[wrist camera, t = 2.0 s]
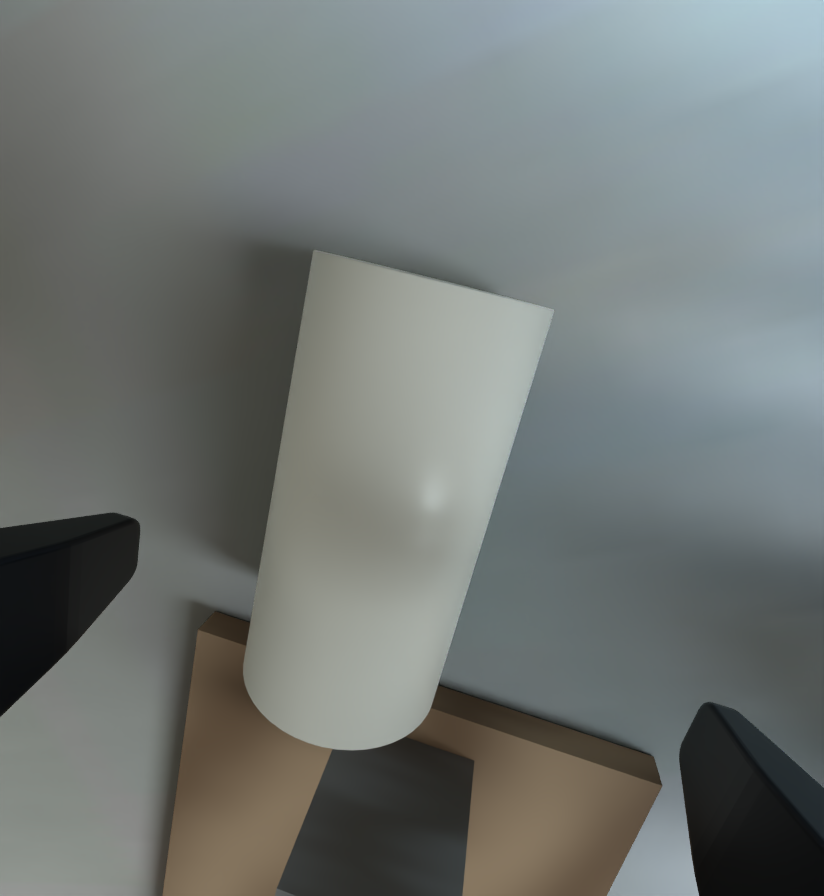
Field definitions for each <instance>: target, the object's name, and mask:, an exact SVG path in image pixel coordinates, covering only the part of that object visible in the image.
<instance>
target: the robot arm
mask: <svg viewBox="0 0 824 896" xmlns="http://www.w3.org/2000/svg"><path fill="white" fill-rule="evenodd" d="M139 539H140V525H139V522H138V521H137V520H136V519H134V518H131V517H128V516H125V515H121V514H118V513H105V514H98V515H91V516H84V517H77V518H70V519H62V520H55V521H48V522H41V523H34V524H27V525H19V526H12V527H5V528H0V717H1V716H2V715H3V714H4V713H5V712H6V711H7V710H8V709H9V708H10V707H11V706H12V705H13V704H14V703H15V702H16V701H17V700H18V699H19V698H20V697H21V696H23V695H24V694H25V693H26V692H27V691H28V690H29V689H30V688H31V687H32V686H33V685H34V684H35V683H36V682H37V681H38V680H39V679H40V678H41V677H42V676H43V675H44V674H45V673H46V672H48V671H49V670H50V669H51V668H52V667H53V666H54V665H55V664H56V663H57V662H58V661H59V660H60V659H61V658H62V657H63V656H64V655H65V654H66V653H67V652H68V651H69V649H70V648H71V647H72V646H73V645H74V644H75V643H76V642H77V641H78V640H79V638H80V637H81V636H82V635H83V634H84V633H85V631H86V630H87V629H88V628H89V627H90V626H91V625H92V623H93V622H94V621H95V620H96V619H97V618H98V616H99V615H100V614H101V613H102V612H103V611H104V609H105V608H106V607H107V606H108V605H109V604H110V602H111V601H112V600H113V599H114V598H115V597H116V596H117V594H118V593H119V592H120V591H121V590H122V589H123V587H124V586H125V585H126V584H127V583H128V582H129V580H130V579H131V578H132V576H133V574H134V572H135V570H136V567H137V562H138V550H139ZM679 761H680V770H681V777H682V785H683V793H684V800H685V808H686V815H687V823H688V831H689V838H690V846H691V854H692V860H693V866H694V872H695V878H696V882H697V887H698V892H699V896H824V788H823V787H822V786H821V785H820V784H819V783H818V782H817V781H815V780H814V779H813V778H812V777H811V776H810V775H809V774H808V773H806V772H805V771H804V770H803V769H802V768H801V767H800V766H799V765H797V764H796V763H795V762H794V761H793V760H792V759H791V758H790V757H789V756H787V755H786V754H785V753H784V752H783V751H782V750H781V749H780V748H778V747H777V746H776V745H775V744H774V743H773V742H772V741H771V740H770V739H768V738H767V737H766V736H765V735H764V734H763V733H762V732H761V731H759V730H758V729H757V728H756V727H755V726H754V725H753V724H752V723H750V722H749V721H748V720H747V719H746V718H745V717H744V716H743V715H742V714H740V713H739V712H738V711H736V710H734V709H731V708H728V707H725V706H722V705H719V704H715V703H712V702H707V703H704V704H703V705H702V706H701V707H700V709H699V710H698V712H697V714H696V716H695V718H694V720H693V722H692V724H691V726H690V728H689V730H688V732H687V734H686V736H685V738H684V740H683V742H682V744H681V748H680V754H679Z"/></svg>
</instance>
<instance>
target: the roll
mask: <svg viewBox="0 0 824 896" xmlns="http://www.w3.org/2000/svg"><path fill="white" fill-rule="evenodd" d="M554 311H555V310H553V309H550V308H547V307H543V306H540V305H536V304H533V303H529V302H525V301H521V300H518V299H514V298H510V297H506V296H503V295H499V294H495V293H491V292H487V291H483V290H479V289H475V288H471V287H467V286H463V285H459V284H455V283H451V282H447V281H443V280H440V279H436V278H432V277H428V276H424V275H420V274H416V273H412V272H407V271H403V270H399V269H395V268H391V267H387V266H383V265H379V264H375V263H370V262H366V261H362V260H358V259H354V258H349V257H345V256H341V255H336V254H332V253H327V252H323V251H318V250H313V255H312V261H311V267H310V273H309V279H308V284H307V290H306V296H305V302H304V308H303V314H302V320H301V326H300V332H299V338H298V344H297V349H296V355H295V361H294V367H293V373H292V379H291V385H290V391H289V397H288V403H287V409H286V414H285V420H284V426H283V432H282V438H281V444H280V450H279V456H278V462H277V468H276V474H275V480H274V485H273V491H272V497H271V503H270V509H269V515H268V521H267V527H266V533H265V539H264V545H263V550H262V556H261V562H260V568H259V574H258V580H257V586H256V592H255V598H254V604H253V610H252V616H251V621H250V627H249V633H248V639H247V645H246V651H245V657H244V663H243V676H244V682H245V686H246V689H247V691H248V694H249V696H250V698H251V699H252V701H253V703H254V704H255V706H256V707H257V708H258V710H259V711H260V712H261V713H262V714H263V715H264V716H265V717H266V718H267V719H268V720H269V721H270V722H271V723H272V724H274V725H275V726H277V727H278V728H279V729H281V730H282V731H284V732H286V733H287V734H289V735H291V736H293V737H295V738H297V739H300V740H302V741H304V742H307V743H310V744H313V745H317V746H320V747H325V748H331V749H337V750H366V749H372V748H377V747H381V746H385V745H388V744H391V743H393V742H396V741H398V740H400V739H402V738H404V737H405V736H407V735H408V734H410V733H411V732H413V731H414V730H415V729H416V728H417V727H418V726H419V725H420V724H421V723H422V722H423V720H424V719H425V718H426V716H427V715H428V713H429V711H430V709H431V706H432V703H433V700H434V696H435V693H436V690H437V687H438V684H439V680H440V677H441V674H442V671H443V667H444V664H445V661H446V658H447V655H448V651H449V648H450V645H451V642H452V639H453V635H454V632H455V629H456V626H457V622H458V619H459V616H460V613H461V610H462V606H463V603H464V600H465V597H466V594H467V590H468V587H469V584H470V581H471V577H472V574H473V571H474V568H475V565H476V561H477V558H478V555H479V552H480V549H481V545H482V542H483V539H484V536H485V532H486V529H487V526H488V523H489V520H490V516H491V513H492V510H493V507H494V504H495V500H496V497H497V494H498V491H499V487H500V484H501V481H502V478H503V475H504V471H505V468H506V465H507V462H508V459H509V455H510V452H511V449H512V446H513V442H514V439H515V436H516V433H517V430H518V426H519V423H520V420H521V417H522V414H523V410H524V407H525V404H526V401H527V397H528V394H529V391H530V388H531V385H532V381H533V378H534V375H535V372H536V369H537V365H538V362H539V359H540V356H541V352H542V349H543V346H544V343H545V340H546V336H547V333H548V330H549V327H550V324H551V320H552V317H553V314H554Z"/></svg>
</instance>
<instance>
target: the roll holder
mask: <svg viewBox="0 0 824 896" xmlns="http://www.w3.org/2000/svg"><path fill="white" fill-rule="evenodd" d="M249 627H250V623H249V622H246V621H243V620H240V619H237V618H234V617H231V616H228V615H225V614H222V613H219V612H216V611H215V612H214V613H213V614H212V615H211V616H210V617H209V618H208V619H207V621H206V622H205V623H204V624H203V625H202V626H201V627H200V628H199V629H198V633H197V640H196V648H195V655H194V663H193V670H192V678H191V685H190V693H189V700H188V708H187V715H186V723H185V730H184V738H183V745H182V753H181V760H180V768H179V775H178V783H177V790H176V798H175V805H174V813H173V820H172V828H171V835H170V843H169V850H168V858H167V865H166V873H165V880H164V888H163V895H162V896H607V894H608V892H609V890H610V888H611V886H612V884H613V882H614V880H615V878H616V876H617V874H618V872H619V870H620V868H621V866H622V864H623V862H624V860H625V858H626V856H627V854H628V852H629V850H630V848H631V846H632V844H633V842H634V841H635V839H636V837H637V835H638V833H639V831H640V829H641V827H642V825H643V823H644V821H645V819H646V817H647V815H648V813H649V811H650V809H651V807H652V805H653V803H654V801H655V799H656V797H657V795H658V793H659V791H660V789H661V787H662V783H661V780H660V776H659V773H658V770H657V766H656V763H655V759H654V757H653V756H650V755H647V754H644V753H641V752H638V751H635V750H632V749H629V748H626V747H623V746H620V745H617V744H614V743H611V742H608V741H605V740H602V739H599V738H596V737H593V736H590V735H587V734H584V733H581V732H578V731H575V730H572V729H569V728H566V727H563V726H560V725H557V724H554V723H551V722H547V721H544V720H541V719H538V718H535V717H532V716H529V715H526V714H523V713H520V712H517V711H514V710H511V709H508V708H505V707H502V706H499V705H496V704H493V703H490V702H487V701H484V700H481V699H478V698H475V697H472V696H469V695H466V694H463V693H460V692H457V691H454V690H451V689H448V688H445V687H442V686H439V685H438V687H437V690H436V693H435V696H434V700H433V703H432V706H431V709H430V711H429V713H428V715H427V716H426V718H425V719H424V720H423V722H422V723H421V724H420V725H419V726H418V727H417V728H416V729H415V730H414V731H413V732H411V733H410V734H408V735H407V736H405V737H404V738H402V739H400V740H398V741H396V742H393V743H391V744H388V745H385V746H381V747H377V748H372V749H366V750H337V749H331V748H325V747H320V746H317V745H313V744H310V743H307V742H304V741H302V740H300V739H297V738H295V737H293V736H291V735H289V734H287V733H286V732H284V731H282V730H281V729H279V728H278V727H277V726H275V725H274V724H272V723H271V722H270V721H269V720H268V719H267V718H266V717H265V716H264V715H263V714H262V713H261V712H260V711H259V710H258V708H257V707H256V706H255V704H254V703H253V701H252V699H251V698H250V696H249V694H248V691H247V689H246V686H245V682H244V676H243V663H244V657H245V651H246V645H247V639H248V633H249Z"/></svg>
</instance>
